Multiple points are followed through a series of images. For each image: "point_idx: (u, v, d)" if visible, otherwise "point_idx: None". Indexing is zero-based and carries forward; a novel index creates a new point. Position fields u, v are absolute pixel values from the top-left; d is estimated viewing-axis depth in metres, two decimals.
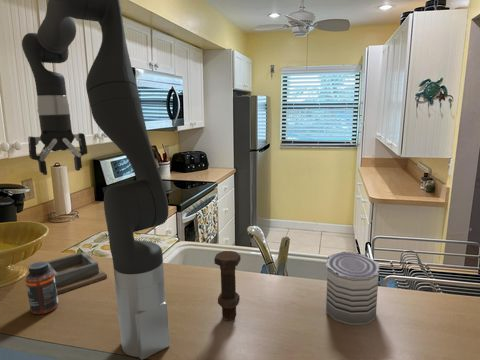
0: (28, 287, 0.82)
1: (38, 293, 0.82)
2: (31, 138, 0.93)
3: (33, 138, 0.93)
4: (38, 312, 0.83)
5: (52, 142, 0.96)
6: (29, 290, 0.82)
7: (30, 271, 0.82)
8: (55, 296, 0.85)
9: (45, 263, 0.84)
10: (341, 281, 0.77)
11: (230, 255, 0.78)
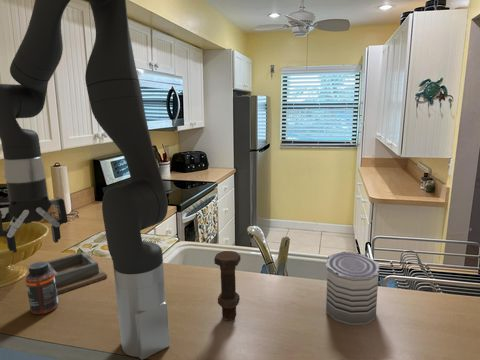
0: (28, 287, 0.82)
1: (38, 293, 0.82)
2: None
3: None
4: (38, 312, 0.83)
5: (23, 214, 0.78)
6: (29, 290, 0.82)
7: (30, 271, 0.82)
8: (55, 296, 0.85)
9: (45, 263, 0.84)
10: (341, 281, 0.77)
11: (230, 255, 0.78)
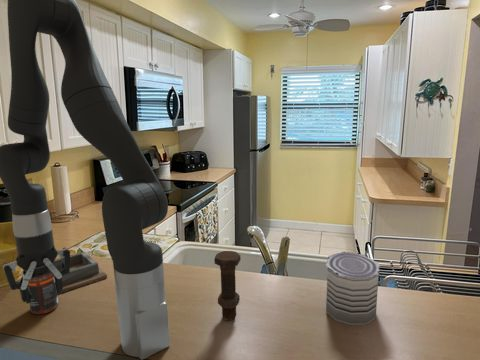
0: (28, 287, 0.82)
1: (38, 292, 0.82)
2: (5, 268, 0.78)
3: (8, 267, 0.78)
4: (38, 312, 0.83)
5: (31, 266, 0.81)
6: (29, 290, 0.82)
7: None
8: (55, 296, 0.85)
9: None
10: (341, 281, 0.77)
11: (230, 255, 0.78)
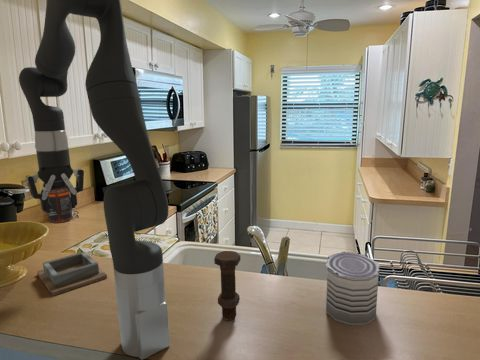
0: (48, 198, 0.94)
1: (56, 203, 0.94)
2: (29, 178, 0.90)
3: (31, 178, 0.90)
4: (56, 221, 0.95)
5: (51, 179, 0.92)
6: (48, 201, 0.94)
7: None
8: (71, 209, 0.97)
9: None
10: (341, 281, 0.77)
11: (230, 255, 0.78)
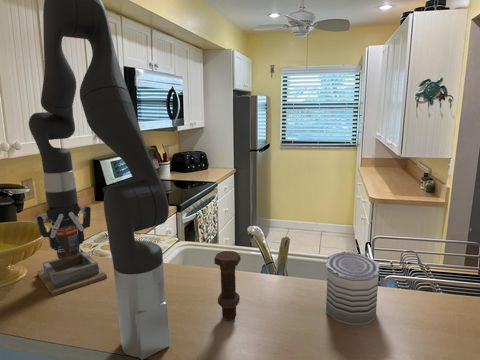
0: (56, 236, 0.97)
1: (64, 240, 0.97)
2: (38, 218, 0.93)
3: (40, 218, 0.93)
4: (64, 258, 0.98)
5: (59, 218, 0.96)
6: (57, 238, 0.97)
7: None
8: (78, 245, 1.00)
9: None
10: (341, 281, 0.77)
11: (230, 255, 0.78)
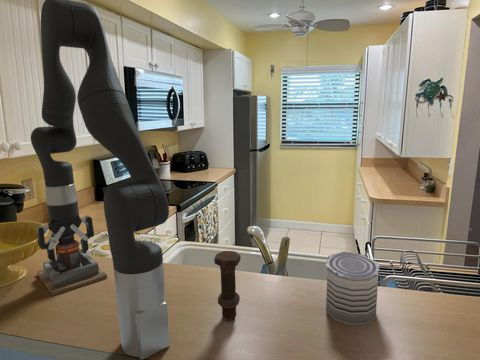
0: (58, 254, 0.98)
1: (66, 258, 0.98)
2: (39, 229, 0.94)
3: (41, 229, 0.94)
4: None
5: (60, 230, 0.96)
6: (58, 256, 0.98)
7: (59, 240, 0.98)
8: (79, 262, 1.01)
9: None
10: (341, 281, 0.77)
11: (230, 255, 0.78)
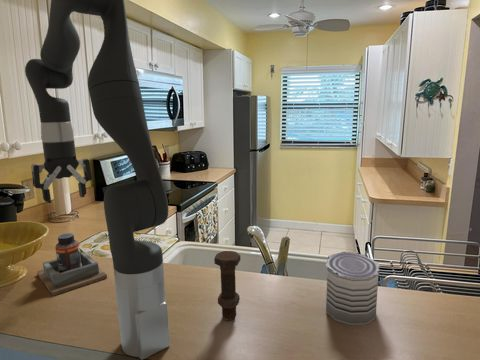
0: (57, 254, 0.98)
1: (66, 258, 0.98)
2: (35, 166, 0.90)
3: (37, 166, 0.90)
4: None
5: (56, 170, 0.93)
6: (58, 256, 0.98)
7: (59, 240, 0.98)
8: (79, 262, 1.01)
9: (71, 234, 1.00)
10: (341, 281, 0.77)
11: (230, 255, 0.78)
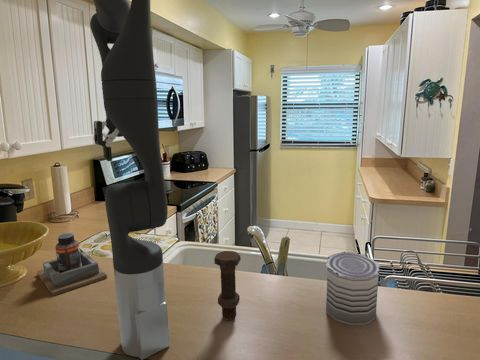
0: (58, 254, 0.98)
1: (66, 258, 0.98)
2: (98, 122, 0.89)
3: (100, 122, 0.89)
4: None
5: None
6: (58, 256, 0.98)
7: (59, 240, 0.98)
8: (79, 262, 1.01)
9: (71, 234, 1.00)
10: (341, 281, 0.77)
11: (230, 255, 0.78)
